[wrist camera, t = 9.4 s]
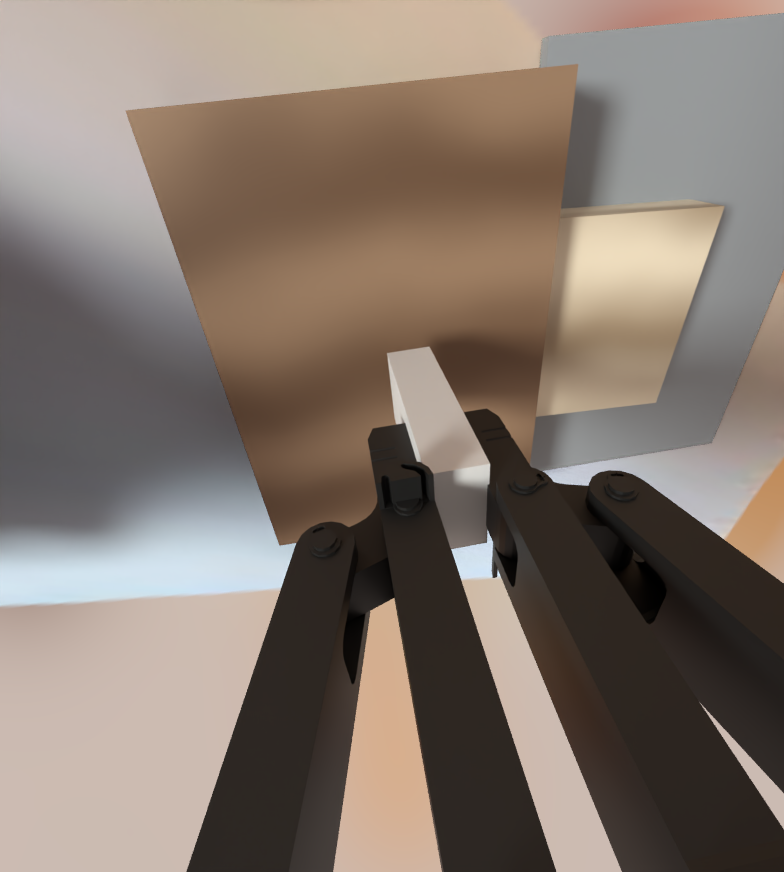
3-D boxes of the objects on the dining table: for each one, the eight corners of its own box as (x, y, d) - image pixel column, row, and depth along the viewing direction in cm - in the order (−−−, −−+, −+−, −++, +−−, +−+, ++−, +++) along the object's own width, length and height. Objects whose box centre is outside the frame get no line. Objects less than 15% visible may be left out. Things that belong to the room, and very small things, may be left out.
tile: (533, 210, 18) (554, 218, 17) (689, 199, 19) (724, 205, 17) (509, 398, 24) (524, 418, 22) (633, 384, 24) (655, 402, 23)
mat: (542, 39, 16) (549, 36, 15) (877, 5, 17) (895, 1, 16) (506, 469, 27) (510, 476, 27) (704, 437, 28) (711, 443, 28)
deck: (165, 114, 15) (125, 110, 12) (525, 76, 16) (578, 63, 13) (284, 493, 26) (279, 545, 23) (499, 458, 27) (525, 504, 23)
